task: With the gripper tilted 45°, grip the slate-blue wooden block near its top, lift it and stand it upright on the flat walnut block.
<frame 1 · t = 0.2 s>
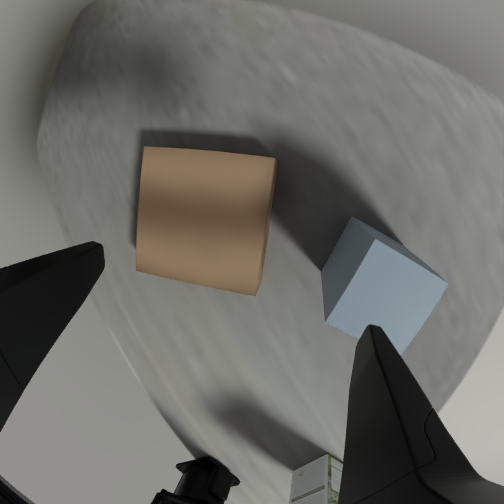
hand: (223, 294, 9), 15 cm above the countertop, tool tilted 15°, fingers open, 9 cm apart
syrup box: (325, 469, 30), on the countertop
walnut block: (209, 214, 25), on the countertop
slate block: (363, 259, 23), on the countertop
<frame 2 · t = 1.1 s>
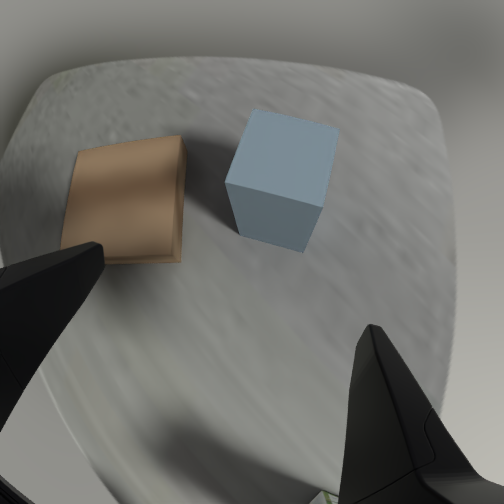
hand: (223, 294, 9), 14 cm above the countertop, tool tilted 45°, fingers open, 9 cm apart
walnut block: (130, 208, 26), on the countertop
slate block: (279, 214, 24), on the countertop
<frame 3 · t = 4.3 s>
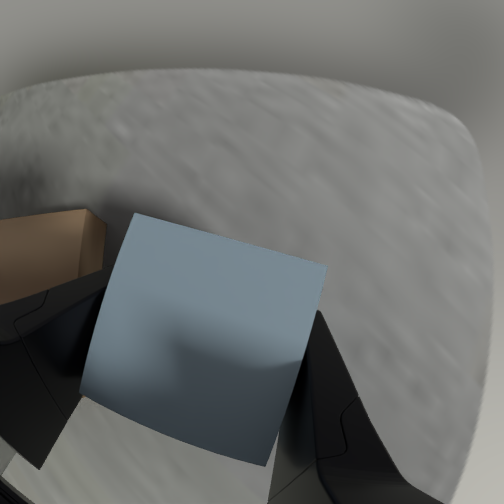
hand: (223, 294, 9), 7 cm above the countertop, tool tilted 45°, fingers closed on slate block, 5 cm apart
walnut block: (43, 304, 17), on the countertop
slate block: (233, 335, 16), on the countertop, touching gripper
when the fingers open (11 cm above the countertop, at t = 8.2 s): slate block drops 2 cm, resting on walnut block.
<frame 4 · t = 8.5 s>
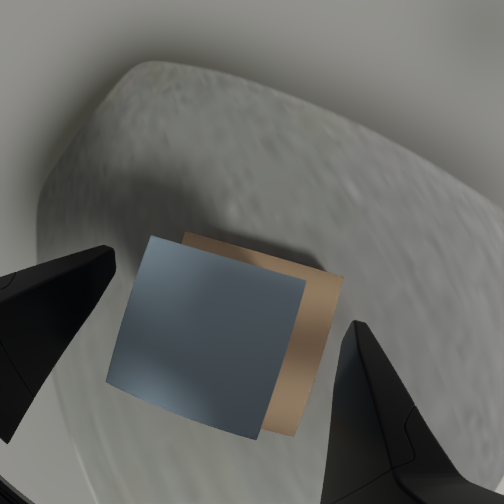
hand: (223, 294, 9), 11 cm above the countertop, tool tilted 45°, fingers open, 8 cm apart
walnut block: (241, 334, 20), on the countertop, touching slate block
slate block: (233, 333, 17), point 2 cm above the countertop, touching walnut block
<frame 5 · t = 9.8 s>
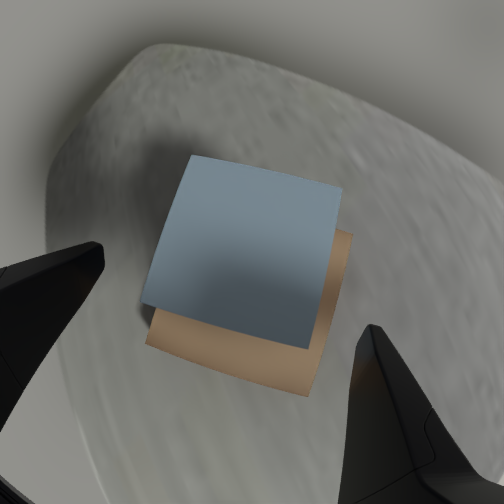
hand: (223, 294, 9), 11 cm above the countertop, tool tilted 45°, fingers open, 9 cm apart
walnut block: (252, 295, 21), on the countertop
slate block: (251, 287, 18), point 3 cm above the countertop
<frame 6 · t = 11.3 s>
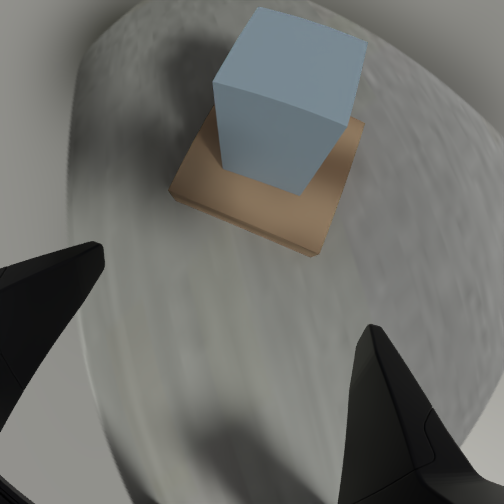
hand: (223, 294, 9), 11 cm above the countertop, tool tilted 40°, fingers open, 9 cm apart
walnut block: (269, 167, 22), on the countertop
slate block: (274, 147, 19), point 2 cm above the countertop
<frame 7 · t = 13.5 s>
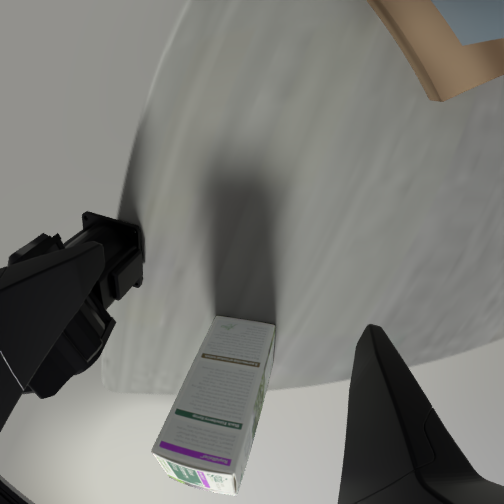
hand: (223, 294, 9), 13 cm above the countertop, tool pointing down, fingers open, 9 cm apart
syrup box: (247, 339, 29), on the countertop
walnut block: (445, 10, 12), on the countertop, touching slate block
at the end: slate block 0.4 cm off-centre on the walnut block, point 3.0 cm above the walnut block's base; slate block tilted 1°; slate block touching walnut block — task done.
